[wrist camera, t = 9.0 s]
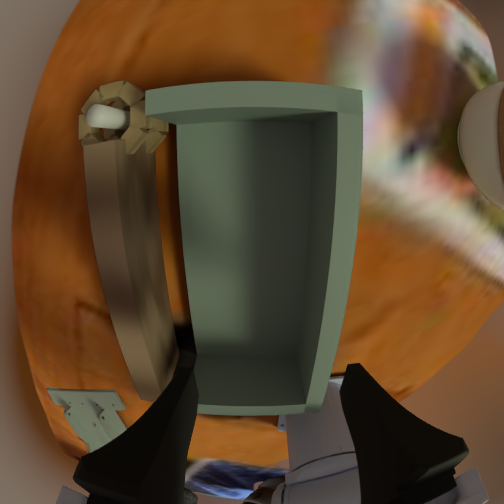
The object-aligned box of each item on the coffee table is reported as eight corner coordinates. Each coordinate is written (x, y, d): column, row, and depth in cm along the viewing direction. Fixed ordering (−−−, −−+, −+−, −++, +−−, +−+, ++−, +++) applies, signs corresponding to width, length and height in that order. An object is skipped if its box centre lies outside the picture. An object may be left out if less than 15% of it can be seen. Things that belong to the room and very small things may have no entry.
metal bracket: (157, 472, 24) (83, 459, 26) (170, 447, 30) (99, 441, 32) (102, 388, 24) (36, 386, 25) (126, 367, 29) (58, 371, 31)
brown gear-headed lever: (192, 354, 23) (179, 404, 17) (147, 350, 23) (127, 396, 17) (172, 91, 15) (138, 69, 10) (116, 101, 15) (68, 89, 10)
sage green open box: (306, 355, 23) (319, 411, 17) (163, 353, 23) (143, 406, 17) (325, 109, 16) (362, 90, 10) (132, 116, 16) (81, 106, 10)
